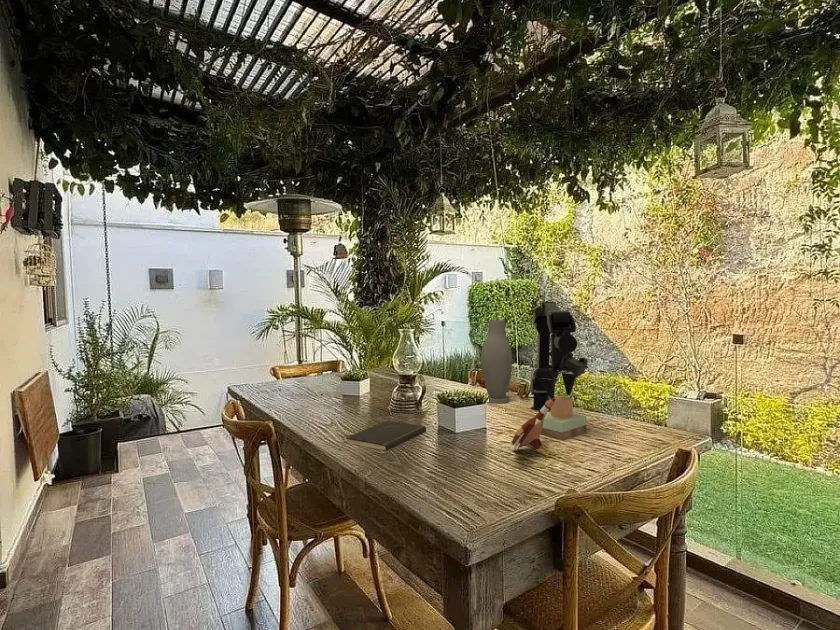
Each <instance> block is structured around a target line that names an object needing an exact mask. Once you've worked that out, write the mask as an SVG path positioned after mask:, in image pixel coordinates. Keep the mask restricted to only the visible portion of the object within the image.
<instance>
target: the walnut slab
mask: <svg viewBox="0 0 840 630" xmlns="http://www.w3.org/2000/svg"><path fill="white" fill-rule="evenodd" d="M586 433H587V424H586V425H584V426H581V427H578V428H575V429H572V430H569V431H566V432H563V433H562V432H558V431H554V430H550V429H546V428H543V429H542V431H541V434H540V436H543V435H544V436H543V437H547V438H552V439H556V440H560V441H567V440H569V439H573V438H575V437H578V436H580V435H584V434H586Z"/></svg>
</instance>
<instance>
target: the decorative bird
mask: <svg viewBox="0 0 840 630" xmlns="http://www.w3.org/2000/svg"><path fill="white" fill-rule="evenodd" d="M555 397H556V398H557V396H556V395H554V397H553V398H552V399H549V400H548V401H547V402H546V403H545V405H544V406H543V407H542V409H541V410H539V412H538V413H536V414H535V415H534V416H533V417H532V418H530V419H528V420H526V422H524V423H523V424H522V425H521V426H520V428H519V429H518V430H517V432H516V433H514V436H513V438H512V441H511V444H512V446H514V447H513V448H512V449H511V452H512V453H514V452H516V451H518V450H519V449H520V448H523V447H526V446H531V447H532V448H533V449H534V450H535V451H537V452H539V453H541V454H544V455H546V456H545V458H548V457H549V458H550V457H553V456H554V454H556V451H550V449H548V448H547V447H545V446H544V445H543V444H542V442H541V440H540V436H541V435H540V434H541V431H542V429H543V421H544V418H545V415H546V414H548V413H549V412H548V411H549V409H550V408H551V407H552V406H553V405H554V401H555V399H556V398H555ZM554 398H555V399H554ZM550 410H551V409H550Z"/></svg>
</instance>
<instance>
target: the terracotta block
mask: <svg viewBox="0 0 840 630" xmlns="http://www.w3.org/2000/svg"><path fill="white" fill-rule="evenodd" d="M556 397H557V398H556ZM556 397H555V398H556V399H555V398H554V399H555V401H554V405H553V406H552V407H551V409H550V413H551V416H552V417H556V418H561V419H566V418H569V417H572V416H573V413H574V412H573V407H574V406H573V398H572V397H568V396H563V395H557V396H556Z"/></svg>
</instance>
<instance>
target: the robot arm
mask: <svg viewBox="0 0 840 630" xmlns="http://www.w3.org/2000/svg"><path fill="white" fill-rule="evenodd" d="M532 323H533V326H534V328H535V329H536V332H537V360H536V361H537V366H536V367H537V368H536V369H535V371H534V372H533V373H532V379H531V380H530V386H529V392H530V394H531V395H533V399H532V400H533V405H532V406H530V409H531V410H536V411H540V410H541V409H542V407H543V406H544V405H545V403H546V402H547V401H548V400H549V399H552V398H553V397H554V396H555V394H556V393H555V392H556V383H557V382H558V381H559V380H560V379H559V378H558V377H559V375H560V374H561V376H562V380H563V385H564V388H565V392H566V395H567V396H571V394H572V391H573V388H574V385H575V382H576V380H577V379H578V378H580V377H581V376H582V375H583V374H585V371H586V370H587V369H588V368H589V362H588V359H587V358H586V357H580V358H574V354H573V352H575V350H576V349H577V347H578V341H577V338H576V337H575V336H574V335H571V334H572V333H576V330H577V326H576V321H575V319H574V317H573V314H571V312H570V311H569V310H562V309H561V308H559V306H558V305H557V303H556V301H554V300H553V301H541V302H540V305H539V306H537V307H536V308H535V309H534V311H533V314H532ZM550 359H551V360H550ZM549 410H550V411H551V408H550V409H549ZM549 410H548V411H549Z"/></svg>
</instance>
